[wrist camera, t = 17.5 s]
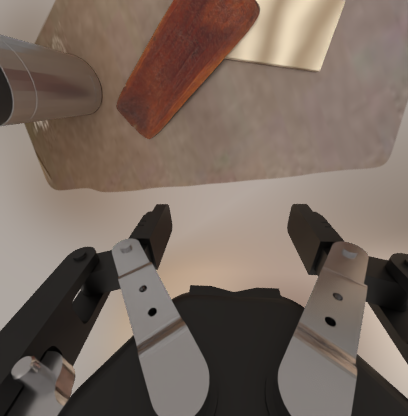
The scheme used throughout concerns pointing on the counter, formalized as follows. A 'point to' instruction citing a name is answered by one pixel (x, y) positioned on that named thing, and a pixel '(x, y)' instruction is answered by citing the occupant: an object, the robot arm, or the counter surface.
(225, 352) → the robot arm
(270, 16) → the birch board
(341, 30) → the counter surface
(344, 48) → the counter surface
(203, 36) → the wooden tablet
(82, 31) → the counter surface
